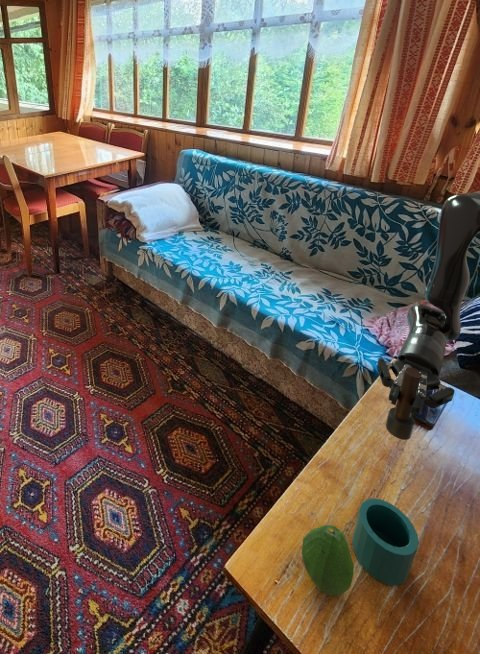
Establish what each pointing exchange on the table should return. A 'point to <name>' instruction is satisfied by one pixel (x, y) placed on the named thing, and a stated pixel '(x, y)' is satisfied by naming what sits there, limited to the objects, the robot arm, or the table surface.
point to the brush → (404, 406)
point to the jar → (384, 541)
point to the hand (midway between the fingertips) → (403, 406)
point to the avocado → (328, 560)
